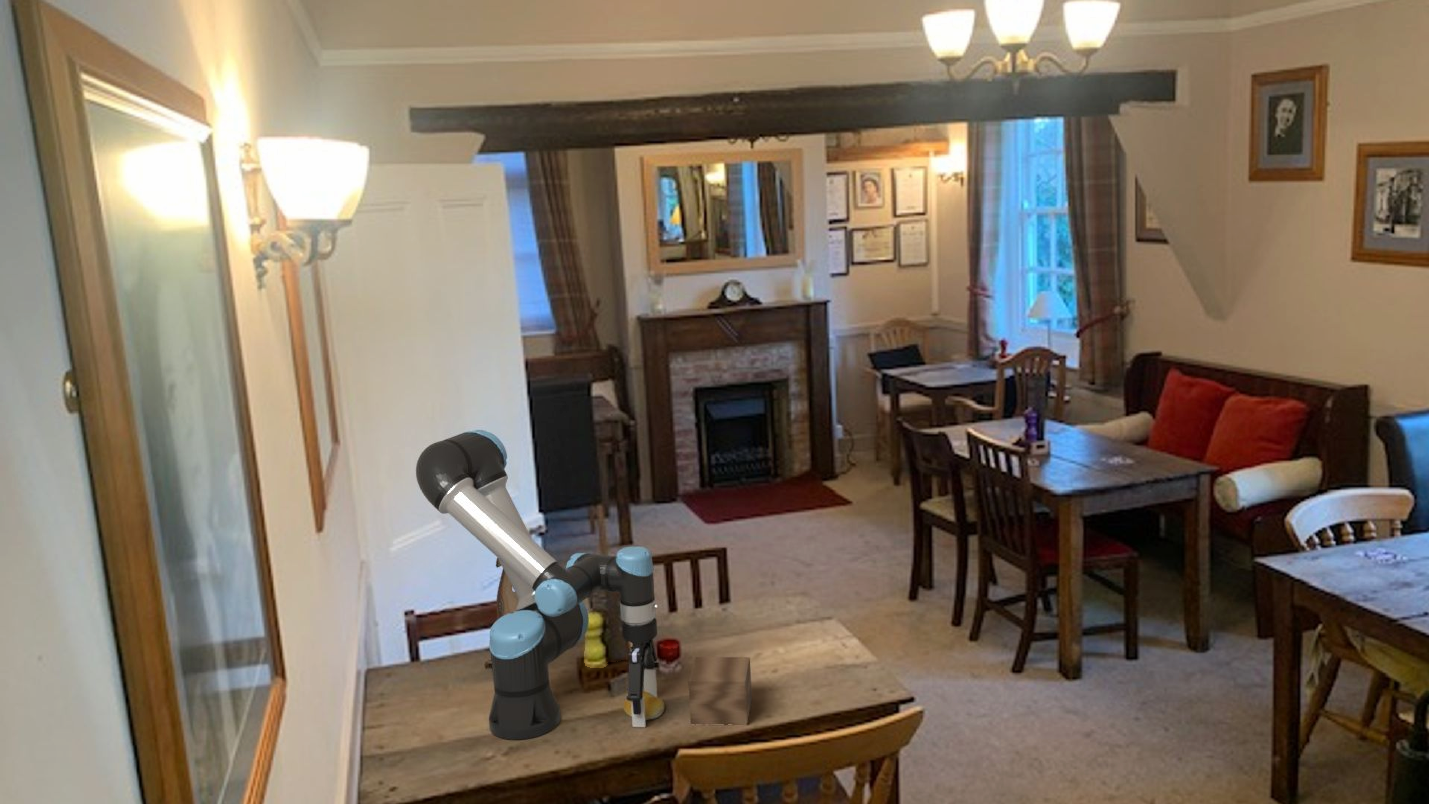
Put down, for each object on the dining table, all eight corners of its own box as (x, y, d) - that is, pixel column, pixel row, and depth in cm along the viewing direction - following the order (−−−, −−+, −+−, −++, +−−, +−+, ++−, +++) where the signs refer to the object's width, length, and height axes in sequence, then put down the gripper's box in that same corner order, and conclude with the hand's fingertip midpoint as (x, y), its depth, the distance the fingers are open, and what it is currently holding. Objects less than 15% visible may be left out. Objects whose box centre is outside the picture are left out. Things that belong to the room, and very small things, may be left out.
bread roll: (643, 726, 226) (641, 708, 225) (618, 712, 232) (617, 695, 232) (673, 712, 231) (672, 695, 230) (648, 699, 238) (647, 682, 237)
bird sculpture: (482, 671, 257) (467, 546, 250) (517, 652, 266) (504, 531, 259) (514, 682, 250) (500, 554, 243) (549, 662, 259) (537, 538, 252)
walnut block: (690, 725, 225) (688, 681, 223) (698, 699, 236) (695, 657, 234) (747, 726, 223) (745, 681, 221) (751, 699, 235) (749, 657, 233)
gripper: (645, 643, 215) (651, 739, 219) (666, 597, 239) (671, 685, 243) (608, 642, 216) (616, 739, 220) (633, 597, 240) (639, 685, 244)
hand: (645, 711), depth 231 cm, fingers open, 13 cm apart
